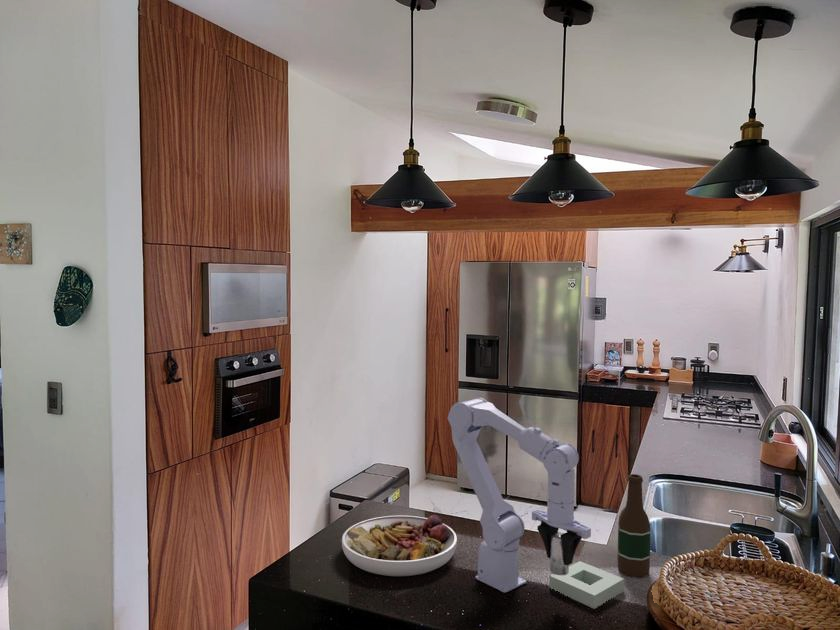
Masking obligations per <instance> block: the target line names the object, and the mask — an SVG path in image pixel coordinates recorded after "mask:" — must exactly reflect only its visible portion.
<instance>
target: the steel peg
mask: <svg viewBox="0 0 840 630" xmlns="http://www.w3.org/2000/svg"><path fill="white" fill-rule="evenodd" d="M564 533H565V532H559V531H558V532H555V533H552V534H551V554H550V558H549V560H550V563H549V564H550V567H549V570H550V573H552V574H556V575H567V574H568V573H569V566H570V564H569V565H564V551H563V544H562V540H561V537H560V535H562V534H564Z"/></svg>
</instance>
